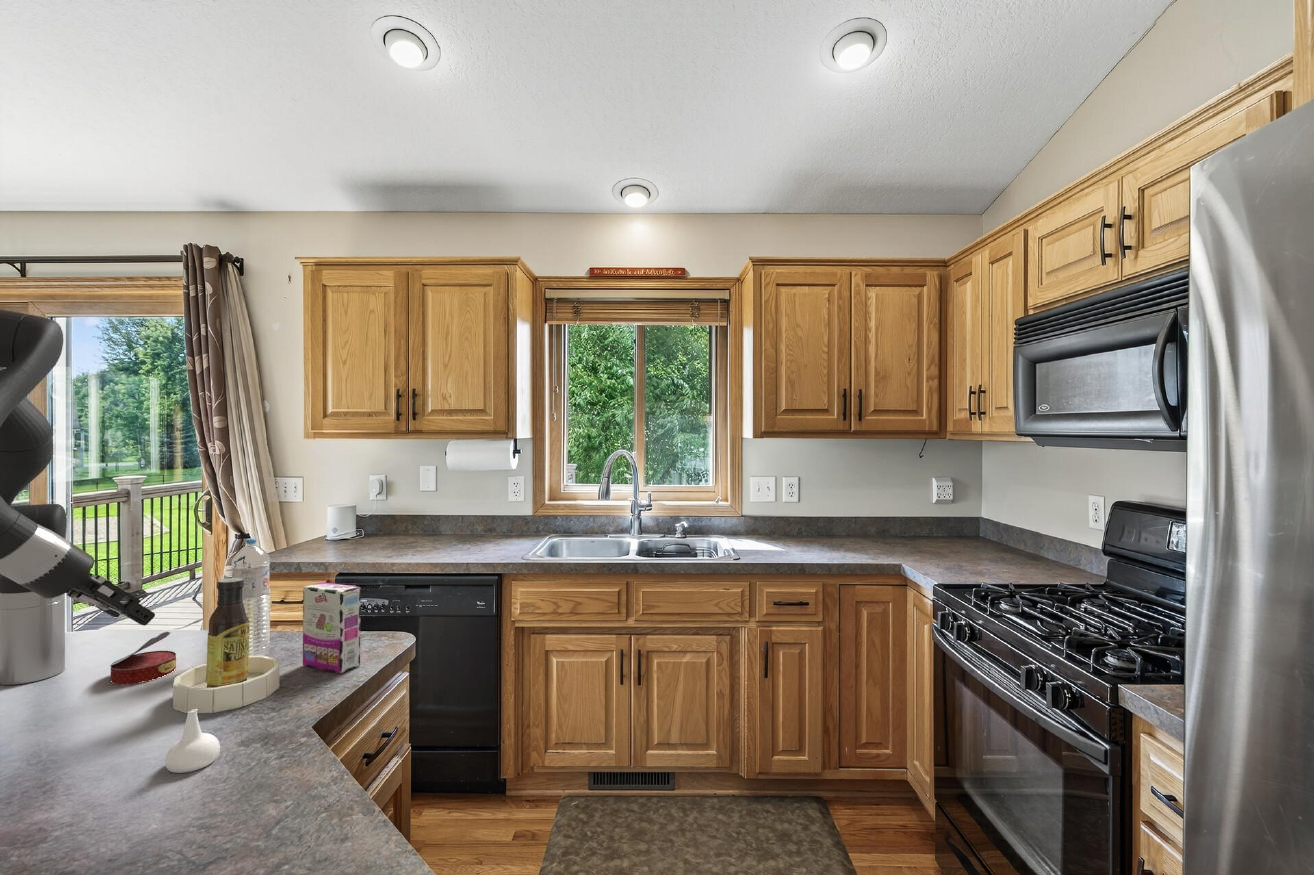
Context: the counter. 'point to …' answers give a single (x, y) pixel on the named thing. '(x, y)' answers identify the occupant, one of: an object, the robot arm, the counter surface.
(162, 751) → the counter surface
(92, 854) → the counter surface
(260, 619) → the water bottle
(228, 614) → the sauce bottle
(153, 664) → the canned food
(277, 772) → the counter surface
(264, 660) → the bowl
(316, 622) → the candy bar box
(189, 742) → the garlic bulb
